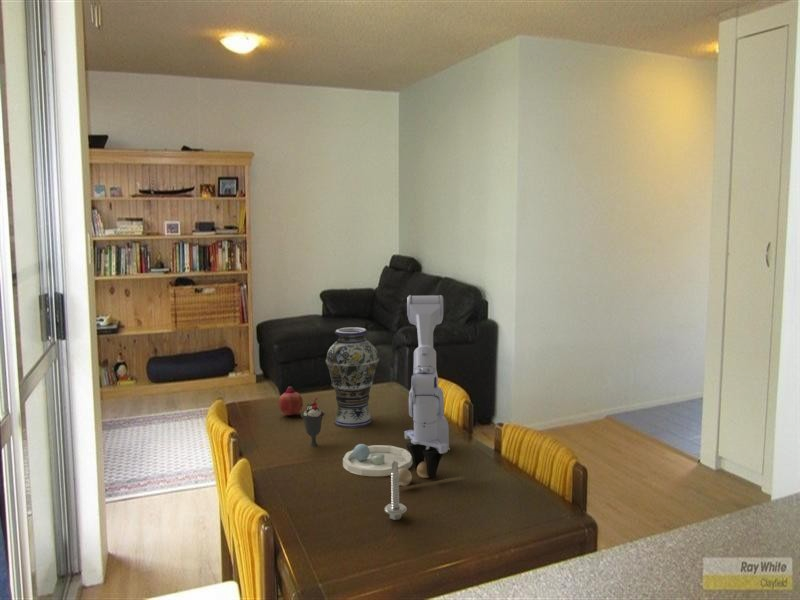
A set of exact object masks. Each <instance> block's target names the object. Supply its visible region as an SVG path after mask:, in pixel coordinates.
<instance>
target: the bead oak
mask: <svg viewBox="0 0 800 600" xmlns="http://www.w3.org/2000/svg"><path fill="white" fill-rule="evenodd" d="M416 473H417V475H418V477H420V478H422V479H428V478H431V477H428V474H427V465H426V460H424V461H422V462H421V463H419V465H418V466H417V471H416Z"/></svg>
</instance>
